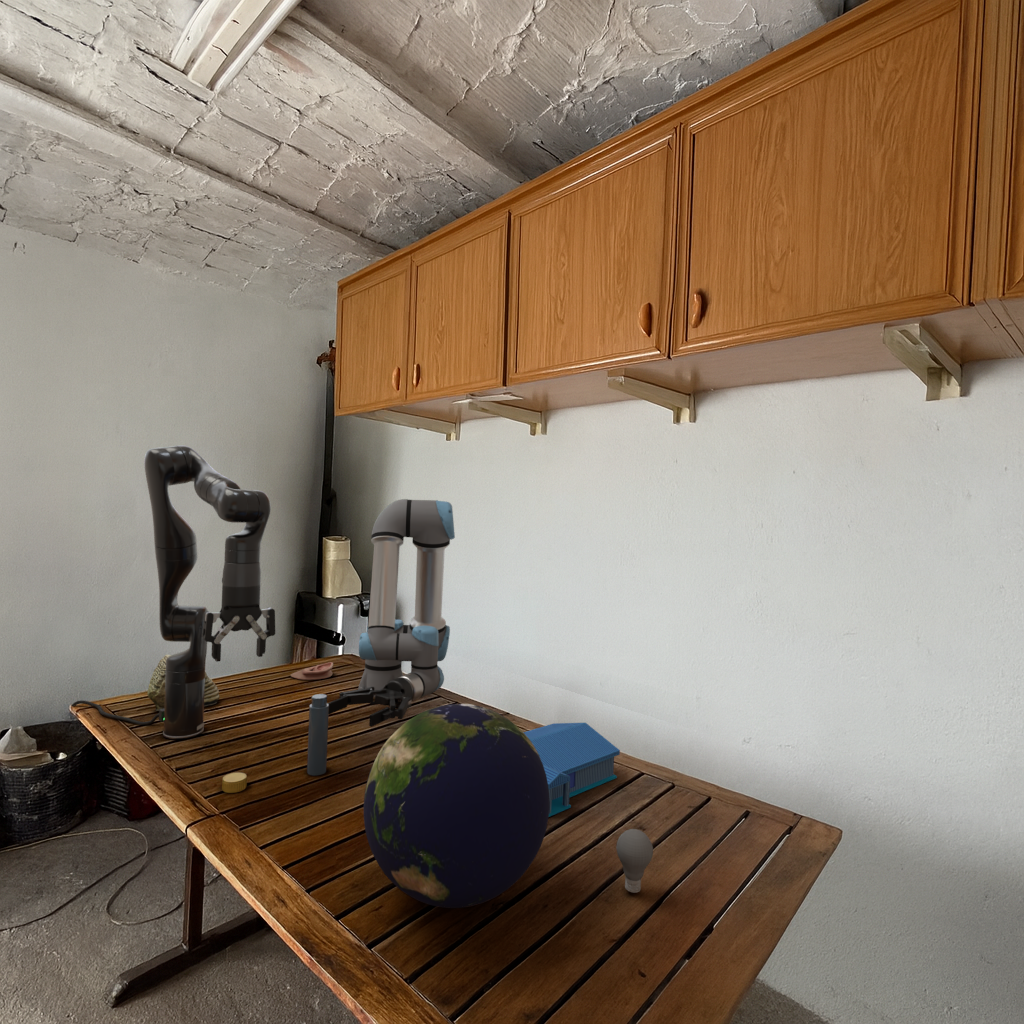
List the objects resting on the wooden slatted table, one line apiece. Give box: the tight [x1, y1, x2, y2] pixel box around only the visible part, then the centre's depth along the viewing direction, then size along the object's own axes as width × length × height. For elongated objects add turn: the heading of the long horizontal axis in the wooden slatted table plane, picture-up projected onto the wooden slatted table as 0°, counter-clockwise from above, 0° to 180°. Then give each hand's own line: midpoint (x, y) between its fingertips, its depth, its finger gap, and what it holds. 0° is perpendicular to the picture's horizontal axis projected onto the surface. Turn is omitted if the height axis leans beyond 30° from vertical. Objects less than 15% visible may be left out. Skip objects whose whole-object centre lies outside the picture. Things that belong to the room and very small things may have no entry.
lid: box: [221, 772, 248, 794], centre depth 136 cm, size 5×5×2 cm
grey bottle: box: [306, 693, 330, 777], centre depth 146 cm, size 4×4×18 cm
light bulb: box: [615, 828, 654, 894], centre depth 106 cm, size 6×6×10 cm
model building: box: [523, 722, 621, 818], centre depth 143 cm, size 39×24×10 cm, turn 132°
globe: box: [363, 703, 549, 909], centre depth 103 cm, size 30×30×30 cm
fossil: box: [147, 654, 221, 711], centre depth 185 cm, size 9×18×15 cm, turn 132°
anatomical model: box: [290, 661, 334, 681], centre depth 221 cm, size 13×4×12 cm
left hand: (238, 658), depth 136 cm, fingers open, 8 cm apart
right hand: (348, 714), depth 154 cm, fingers open, 13 cm apart
